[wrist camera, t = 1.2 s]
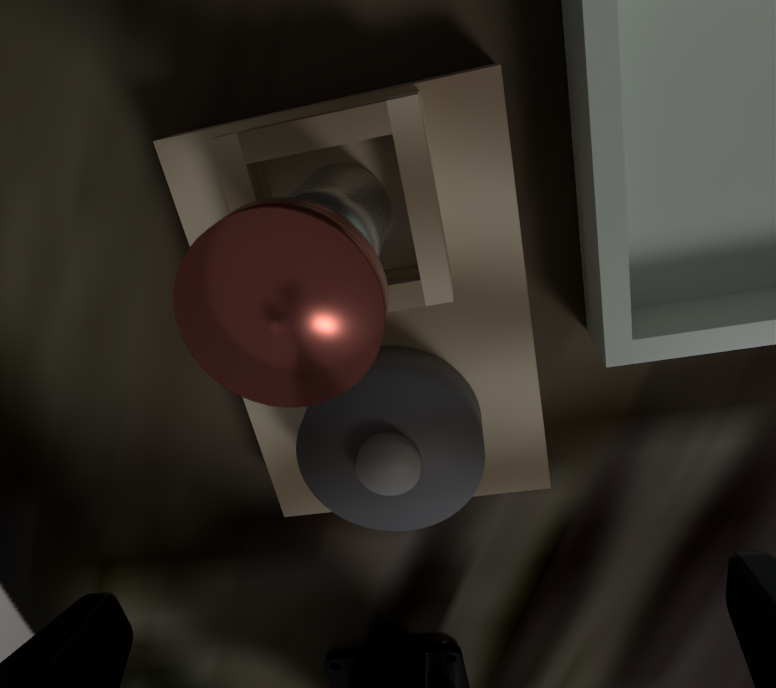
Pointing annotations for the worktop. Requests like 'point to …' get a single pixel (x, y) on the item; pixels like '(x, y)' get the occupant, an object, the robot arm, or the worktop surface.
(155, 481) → the worktop surface
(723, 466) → the worktop surface
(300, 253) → the lock pin
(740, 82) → the tray
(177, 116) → the worktop surface
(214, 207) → the block
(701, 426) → the worktop surface
